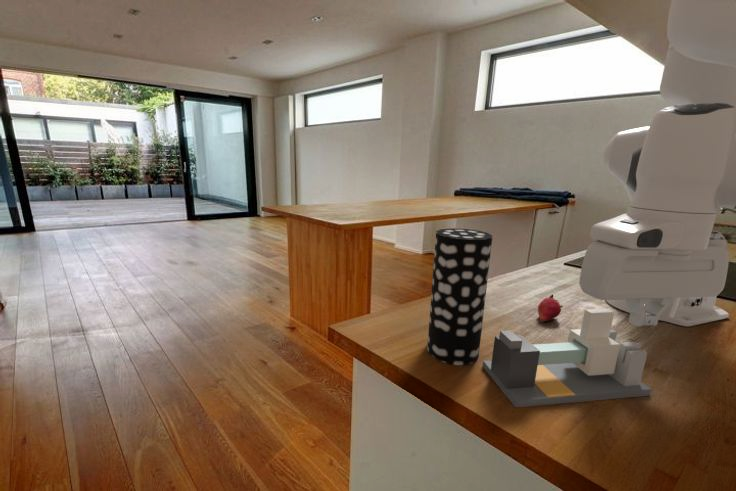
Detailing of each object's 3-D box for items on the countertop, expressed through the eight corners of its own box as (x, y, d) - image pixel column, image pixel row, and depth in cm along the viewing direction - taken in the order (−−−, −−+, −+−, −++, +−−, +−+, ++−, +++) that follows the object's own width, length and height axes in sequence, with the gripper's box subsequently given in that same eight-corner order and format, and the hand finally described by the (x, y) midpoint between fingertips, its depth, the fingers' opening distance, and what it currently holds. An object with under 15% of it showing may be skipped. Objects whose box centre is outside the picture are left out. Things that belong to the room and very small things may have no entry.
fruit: (529, 319, 69) (532, 296, 67) (542, 312, 72) (545, 290, 71) (551, 327, 65) (555, 303, 64) (563, 319, 69) (567, 296, 68)
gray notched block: (599, 356, 54) (605, 325, 52) (639, 384, 47) (648, 349, 46) (585, 357, 53) (592, 326, 52) (624, 386, 47) (632, 350, 45)
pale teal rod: (608, 351, 51) (611, 339, 50) (620, 359, 49) (622, 346, 48) (509, 358, 48) (511, 345, 48) (517, 366, 46) (519, 353, 46)
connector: (515, 367, 50) (521, 326, 49) (534, 386, 46) (541, 342, 44) (490, 369, 50) (495, 328, 48) (506, 389, 45) (513, 344, 44)
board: (597, 358, 55) (598, 352, 55) (649, 395, 46) (651, 388, 46) (482, 366, 52) (483, 360, 52) (515, 407, 43) (516, 400, 43)
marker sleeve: (588, 355, 52) (599, 303, 50) (613, 373, 47) (626, 317, 45) (564, 357, 51) (574, 304, 49) (588, 375, 47) (600, 318, 45)
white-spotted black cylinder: (424, 337, 60) (432, 227, 56) (471, 339, 60) (483, 229, 55) (431, 364, 52) (441, 238, 48) (485, 366, 52) (500, 240, 47)
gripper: (703, 226, 50) (680, 312, 53) (580, 226, 47) (564, 317, 50) (756, 235, 44) (727, 332, 47) (620, 235, 41) (598, 338, 44)
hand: (642, 324), depth 49 cm, fingers closed
